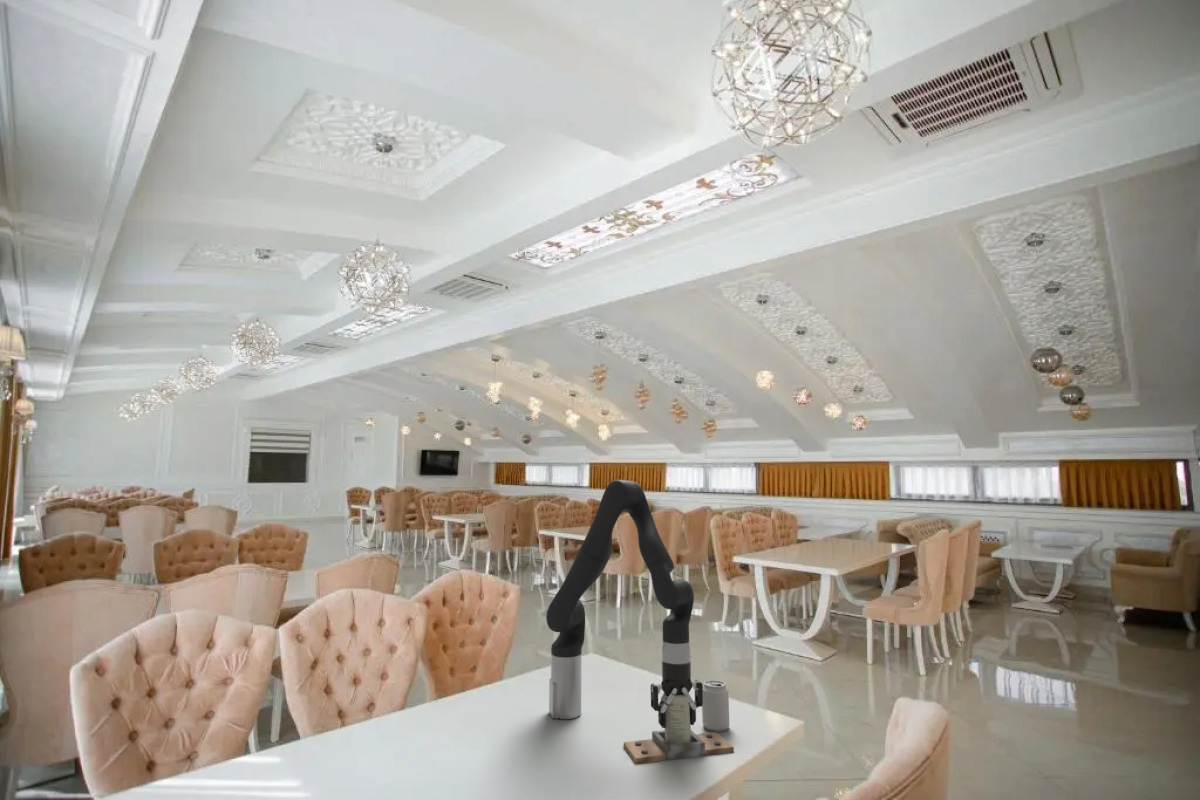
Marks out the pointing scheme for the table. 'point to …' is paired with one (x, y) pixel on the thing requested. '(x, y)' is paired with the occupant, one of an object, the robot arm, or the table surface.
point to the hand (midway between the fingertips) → (677, 725)
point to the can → (715, 706)
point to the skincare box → (678, 720)
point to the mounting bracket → (676, 747)
